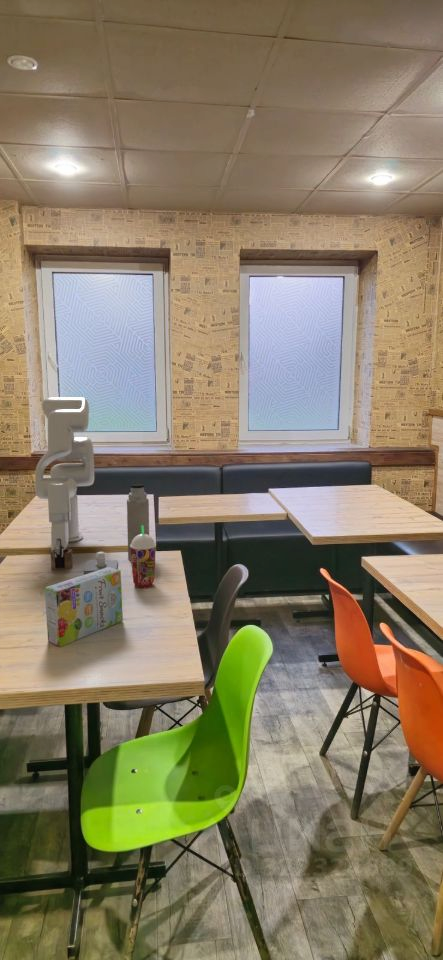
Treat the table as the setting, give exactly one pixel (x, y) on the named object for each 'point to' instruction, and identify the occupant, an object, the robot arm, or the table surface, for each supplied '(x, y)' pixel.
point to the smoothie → (143, 560)
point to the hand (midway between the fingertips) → (62, 563)
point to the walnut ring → (66, 556)
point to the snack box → (83, 605)
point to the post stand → (99, 564)
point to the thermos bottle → (137, 513)
